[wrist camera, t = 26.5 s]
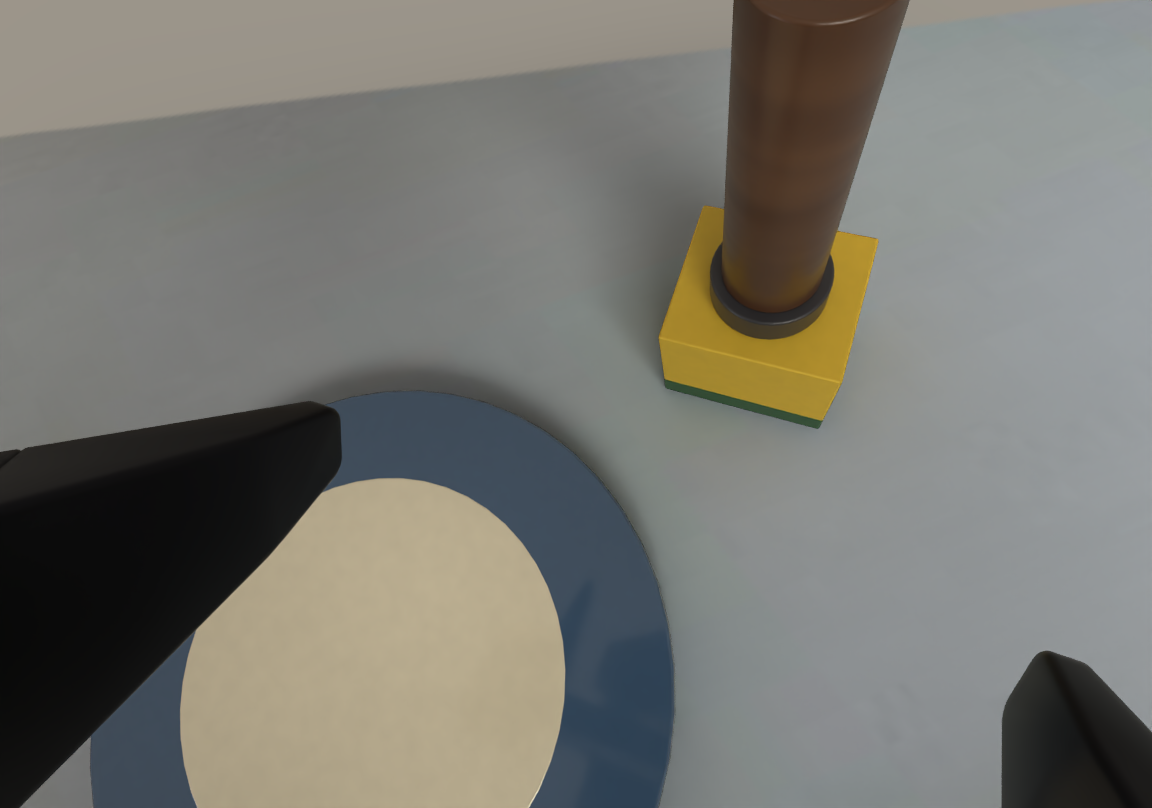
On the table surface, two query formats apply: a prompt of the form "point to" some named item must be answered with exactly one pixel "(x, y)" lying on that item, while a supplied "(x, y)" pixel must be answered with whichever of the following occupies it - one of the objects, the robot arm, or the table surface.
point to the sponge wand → (784, 212)
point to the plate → (419, 640)
